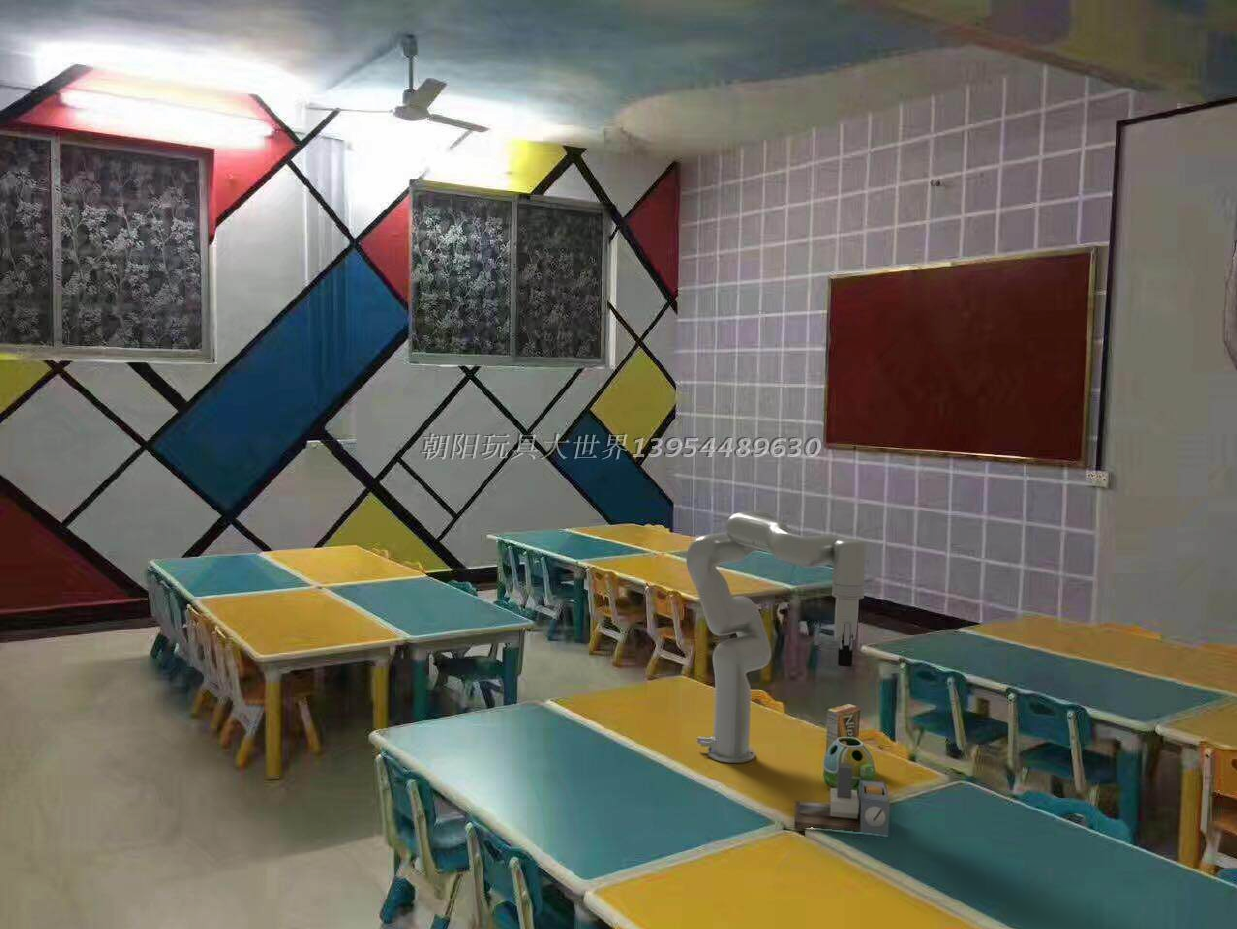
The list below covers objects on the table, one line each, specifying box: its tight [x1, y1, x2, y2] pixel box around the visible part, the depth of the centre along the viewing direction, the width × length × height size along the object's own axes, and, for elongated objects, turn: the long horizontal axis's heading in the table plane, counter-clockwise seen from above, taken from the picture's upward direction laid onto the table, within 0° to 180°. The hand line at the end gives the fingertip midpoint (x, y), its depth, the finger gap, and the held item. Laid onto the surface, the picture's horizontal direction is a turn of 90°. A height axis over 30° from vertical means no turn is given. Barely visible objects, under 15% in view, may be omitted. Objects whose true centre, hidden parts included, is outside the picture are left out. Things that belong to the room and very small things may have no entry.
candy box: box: [825, 703, 861, 753], centre depth 273 cm, size 9×4×15 cm, turn 129°
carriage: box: [829, 763, 859, 818], centre depth 237 cm, size 6×8×11 cm
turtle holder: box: [822, 737, 878, 793], centre depth 255 cm, size 12×18×12 cm
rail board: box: [793, 800, 861, 832], centre depth 238 cm, size 14×12×4 cm
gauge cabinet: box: [858, 780, 891, 836], centre depth 236 cm, size 6×12×8 cm, turn 169°
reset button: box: [866, 786, 882, 795], centre depth 236 cm, size 4×4×4 cm
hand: (844, 665), depth 252 cm, fingers closed
